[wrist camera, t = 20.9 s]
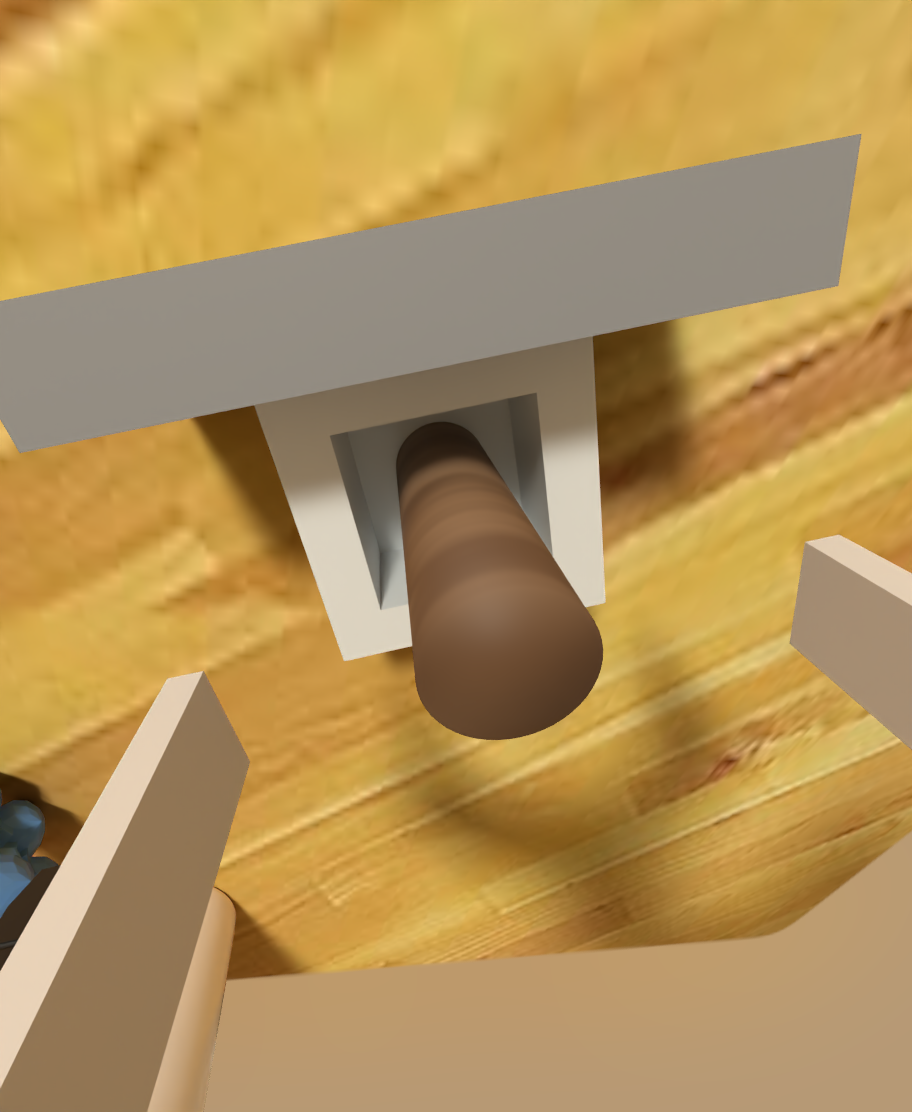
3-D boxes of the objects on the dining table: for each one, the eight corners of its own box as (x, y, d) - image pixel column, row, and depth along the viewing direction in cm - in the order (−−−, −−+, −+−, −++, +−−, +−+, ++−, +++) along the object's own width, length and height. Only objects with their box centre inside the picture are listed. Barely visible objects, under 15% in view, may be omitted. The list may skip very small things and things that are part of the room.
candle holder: (242, 864, 35) (181, 1118, 24) (253, 947, 39) (206, 1194, 28) (79, 874, 33) (-64, 1150, 22) (110, 960, 37) (3, 1225, 27)
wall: (651, 287, 22) (838, 285, 13) (171, 383, 21) (20, 452, 12) (651, 201, 20) (861, 134, 11) (137, 302, 20) (-62, 313, 11)
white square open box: (560, 541, 27) (605, 602, 22) (351, 587, 27) (344, 661, 21) (540, 309, 22) (591, 315, 17) (280, 362, 21) (247, 385, 16)
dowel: (491, 498, 24) (606, 717, 12) (406, 516, 24) (434, 756, 12) (478, 413, 22) (599, 568, 10) (386, 432, 22) (396, 612, 10)
